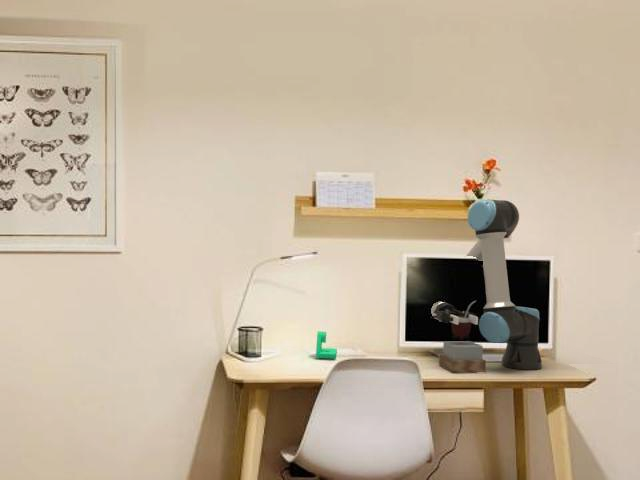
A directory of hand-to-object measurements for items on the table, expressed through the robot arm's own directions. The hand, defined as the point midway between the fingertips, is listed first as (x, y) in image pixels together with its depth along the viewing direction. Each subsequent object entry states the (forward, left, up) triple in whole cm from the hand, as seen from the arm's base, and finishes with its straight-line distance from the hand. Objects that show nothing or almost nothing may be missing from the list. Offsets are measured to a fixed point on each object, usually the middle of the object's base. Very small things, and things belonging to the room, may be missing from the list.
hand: (467, 320), depth 286 cm
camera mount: (+45, -31, -19) cm, 58 cm away
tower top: (-1, -4, -14) cm, 15 cm away
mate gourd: (0, -5, -8) cm, 9 cm away
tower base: (-1, -4, -19) cm, 20 cm away
